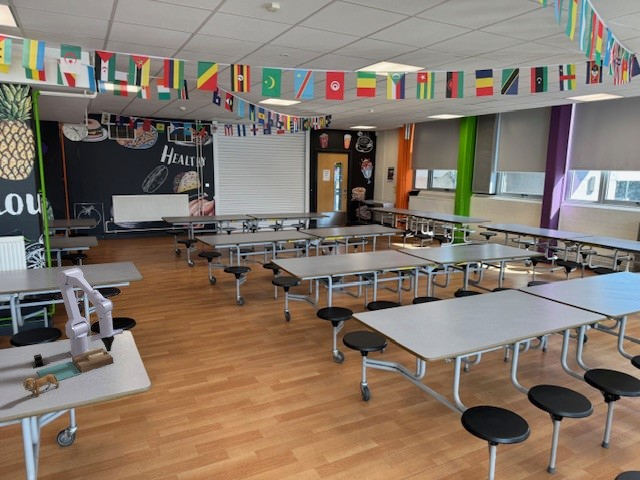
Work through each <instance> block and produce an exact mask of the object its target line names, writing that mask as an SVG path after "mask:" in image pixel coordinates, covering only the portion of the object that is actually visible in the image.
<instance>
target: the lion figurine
mask: <svg viewBox="0 0 640 480" xmlns="http://www.w3.org/2000/svg"><path fill="white" fill-rule="evenodd" d="M54 378H55V379H54ZM55 380H56V381H55ZM47 383H48V385H46V384H47ZM60 384H61V383H60V381H57V378H56V377H55V375H52V374H49V375H46V376H44V377H43V378H41V377H40V378H37V377H29V378H26V379H24V381H23V384H22V386H23V388H24V390H25V391H27V392H31V393H32V394H31V395H30V396H31V397H34V396H35V397H36V398H39V397H40V388H42V387H44V386H47V387H45V390H49V389H50V388H51V386H52V385H56V386H55V389H58V388H60Z"/></svg>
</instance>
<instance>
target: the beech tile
mask: <svg viewBox="0 0 640 480" xmlns="http://www.w3.org/2000/svg"><path fill="white" fill-rule="evenodd" d="M99 349H100V348H99V347H96V348H93V349H92V348H91V349H89V351H85V356H86V357H87V358H88V359H89V360H90V361H93V360H96V359H100V358H103V357H104V353H103V352H102V351H101V350H99Z"/></svg>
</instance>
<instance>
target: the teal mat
mask: <svg viewBox="0 0 640 480" xmlns="http://www.w3.org/2000/svg"><path fill="white" fill-rule="evenodd" d="M36 372H37V373H38V375H39V377H40V378H43V377H44V376H46V375H49V374H52V375H55V377H56V378H57V381H58V382H61V381H64V380H67V379H69V378H73V377H76V376H80V375H81V374H82V373H81V372H80V370H79V369H78V368H77V367H76V366H75V365H74V363H73V362H72V360H70V361H66V362H63V363H59V364H56V365H53V366H49V367H45V368H42V369H38V370H36ZM54 379H55V378H54ZM55 381H56V380H55ZM45 386H48V383H47V384H46V385H45Z"/></svg>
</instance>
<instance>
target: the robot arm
mask: <svg viewBox="0 0 640 480" xmlns="http://www.w3.org/2000/svg"><path fill="white" fill-rule="evenodd" d="M55 278H56V281H57V285H58V287H59V290H60V293H61V296H62V300H63V303H64V306H65V310H66V313H67V317H68V320H67V322H66V323H65V325H64V326H65V335H66V337H68V339H69V342H70V343H69V344H70V350H68V351H69V354H70V355H71V356H75V355H79V354H82V353H85V351H89V350H90V349H89V343H88V334H89V333H88V332H89V331H90V328H91V327H90V324H89V322H88V321H87V319H86V317H83V316H82V315H81V313H80V308H79V305H78V302H77V298H76V294H75V292H74V291H75V290H74V288H73V287H74V285H76V287H78V288H80V290H82V292H84V293H85V294H86V299H87V300H88V301H89V302H90V303H91V304H92V305H93V307H94V311H95V313H96V316H97V319H98V324H99V333H98V334H96V335H93V336H90V338H89V339H90V342H92V343H93V342H95V341H99V340H101V341H102V343H103V345H104V347H105V349H106V350H105V351H106V352H107V353H110V352H111V351H112V345H113V342H114V341H115V336H117V335H123V334H124V330H123V329H122V328H121V329H120V328H119V329H114V327H113V317H112V310H114V303H113V301H112V300H110V299H108V298H105V297H104V296H103V295H102V293H100V292H99V290H98V289H93V287H92V286H91V285H90V284H89V282H88V281H87V280H86V279H85V277H84V272H83V271H82V270H81V268H79V267H77V266H76V267H73V268H70V269H65V270H61V271H58V273H57V275H56V277H55Z"/></svg>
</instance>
